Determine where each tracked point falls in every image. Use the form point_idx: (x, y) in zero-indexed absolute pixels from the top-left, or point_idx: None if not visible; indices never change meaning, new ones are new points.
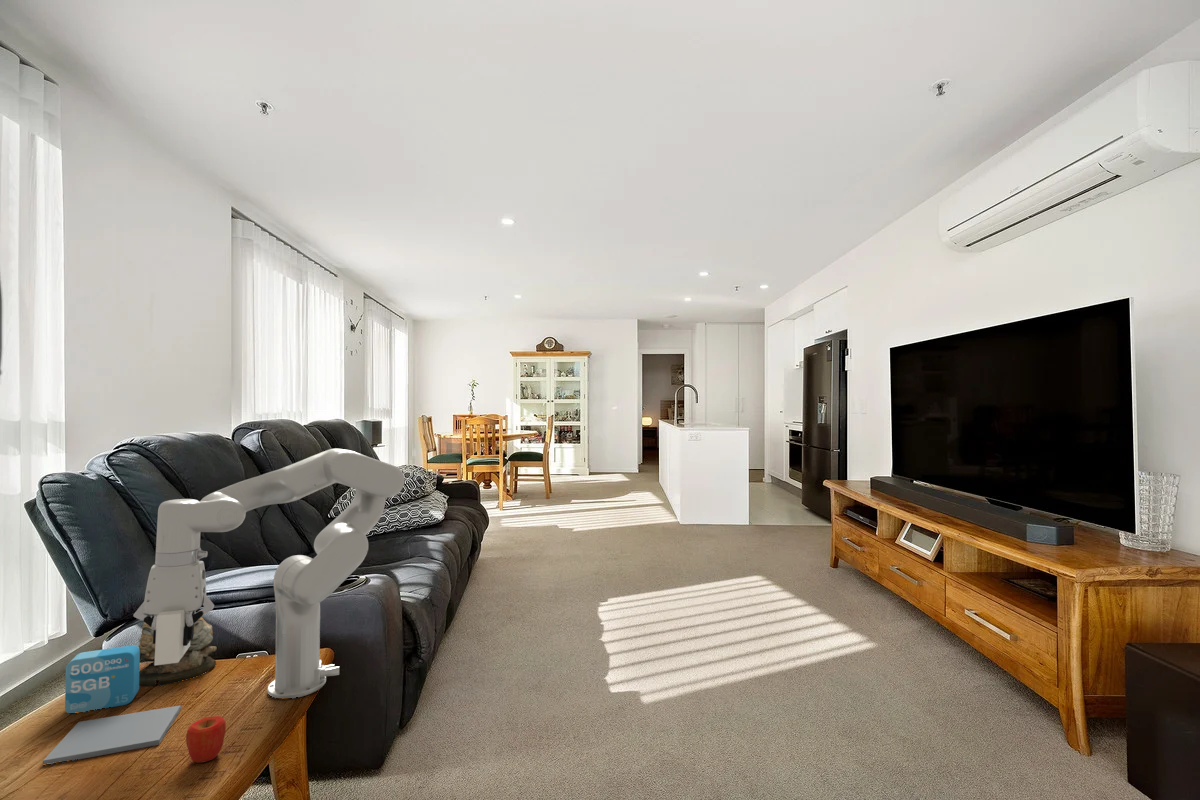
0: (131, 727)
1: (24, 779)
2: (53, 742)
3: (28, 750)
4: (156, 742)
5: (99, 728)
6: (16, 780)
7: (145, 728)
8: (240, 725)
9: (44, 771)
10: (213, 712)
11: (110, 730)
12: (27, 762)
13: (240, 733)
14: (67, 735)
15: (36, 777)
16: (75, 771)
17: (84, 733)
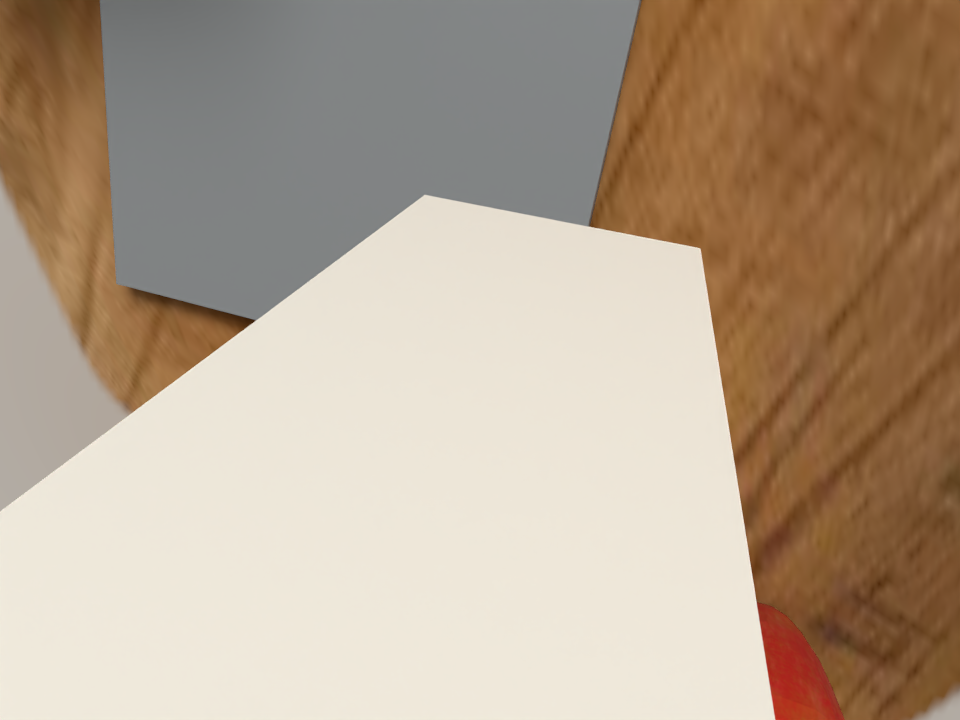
0: (396, 158)
1: (115, 347)
2: (73, 39)
3: (3, 68)
4: None
5: (236, 65)
6: (91, 337)
7: None
8: (953, 434)
9: (158, 327)
10: (840, 157)
11: (299, 132)
12: (58, 200)
13: (930, 518)
14: (109, 60)
15: (150, 359)
16: None
17: (182, 88)
